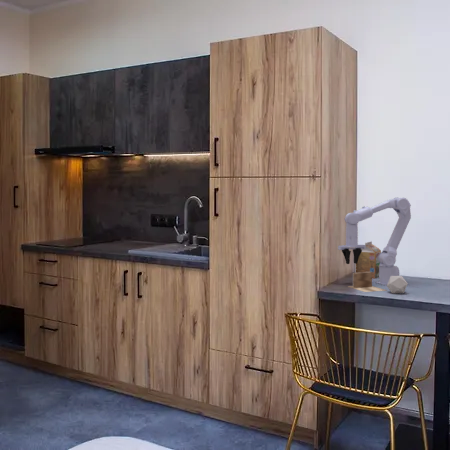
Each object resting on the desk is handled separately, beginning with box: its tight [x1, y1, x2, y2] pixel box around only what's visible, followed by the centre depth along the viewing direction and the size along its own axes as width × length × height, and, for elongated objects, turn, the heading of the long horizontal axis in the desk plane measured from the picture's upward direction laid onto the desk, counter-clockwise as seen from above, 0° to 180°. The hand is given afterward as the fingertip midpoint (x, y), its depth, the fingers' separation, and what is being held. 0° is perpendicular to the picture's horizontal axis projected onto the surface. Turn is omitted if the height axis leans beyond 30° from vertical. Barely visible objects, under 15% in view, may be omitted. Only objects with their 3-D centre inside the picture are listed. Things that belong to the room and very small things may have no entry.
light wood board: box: [347, 285, 388, 293], centre depth 260 cm, size 12×16×1 cm
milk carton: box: [355, 240, 382, 280], centre depth 296 cm, size 11×11×19 cm
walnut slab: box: [352, 272, 373, 289], centre depth 263 cm, size 9×2×7 cm, turn 108°
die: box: [386, 275, 409, 294], centre depth 248 cm, size 8×9×10 cm
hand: (351, 263), depth 272 cm, fingers open, 4 cm apart
